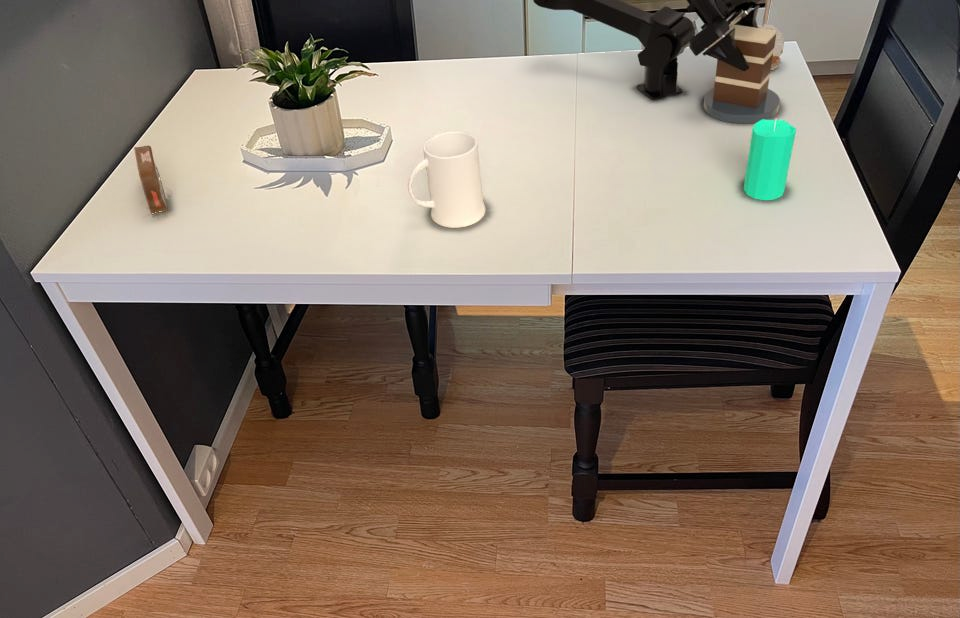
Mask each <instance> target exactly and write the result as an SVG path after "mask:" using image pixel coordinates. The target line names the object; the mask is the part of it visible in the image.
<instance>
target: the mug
mask: <svg viewBox="0 0 960 618" xmlns="http://www.w3.org/2000/svg"><path fill="white" fill-rule="evenodd" d="M478 144H479V143H478V139H477V138H476V137H475V135H472V134H470V133H468V132H465V131H446V132H440V133H437V134H434V135H432V136H431V137H429V138H428V139H426V140H425V142H424V143H423V145H422V151H423V157H424V159H423V160H421V161H420V162H419V163H417V164H416V165H415V167H414V168H413V169H412V171H411V172H410V174H409V177H408V180H407V192H408V195H409V198H410V199H411V200H412V201H413V202H414V203H415V204H416V205H417V206H420V207H423V208H429V209H430V208H431V211H430V217H431V219H432V220H433V222H434V223H436V224H437V225H439V226H441V227H445V228H450V229H452V228H453V229H456V228H457V229H459V228H464V227H468V226H472V225H474V224H476V223H478V222H479V221H481V219H483V218H484V216H485V215H486V211H487V210H486V205H485V203H484V196H483V195H484V194H483V185H482V175H481V166H480V155H479V153H480V152H479V145H478ZM422 169H425V171H426V177H427V185H428V192H429V198H430V199H429V200H420V199H417V198H416V196H415V195H414V194H413V190H412V187H413V182H414V179H415V177H416V176H417V174H418V173H419V172H420V171H422Z"/></svg>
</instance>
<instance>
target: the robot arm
mask: <svg viewBox="0 0 960 618" xmlns="http://www.w3.org/2000/svg"><path fill="white" fill-rule="evenodd" d="M532 1H533V3H534V4H535V5H536V6H538V7H540V8H543V9H547V10H552V11H573V12H576V13H577V14H580V15H582V16H584V17H587V18H590V19H592V20H594V21H596V22H599V23H601V24H604V25H606V26H608V27H610V28H613V29H616V30H617V31H620V32H622V33H625V34H627V35H629V36H631V37H633V38H636V39H637V40H638V41H639V42H640V44H641V46H643V47H644V48H643V49H642V50H641V51H640V52H638V53H637V59H638V63H639V65H640V66H641V67H644V78H643V83H640V84H636V89H637V90H639V91H640V92H642V94H644V95H646V96H647V98H649V99H651V100H653V101H656V100H659V99H664V98H667V97H671V96H674V95H675V96H676V95H679V94H682V93H683V92H684V89H683V88H681V87H680V86H678V74H679V73H678V69H679V62H678V56H680V55H681V54H683V53H684V51H685V49H686V48H688V49H689V50H690V51H691V52H692V54H693V55H694V57H698V56H699V55H700V54H701V53H702V56H704V57H705V56H707V57H710V58H711V57H712V58H713V59H716V60H717V59H718V60H721V61H723V62H725V63H727V64H729V65H731V66H733V67H735V68H738V69H740V70H742V71H746V70H748V69H749V65H748V63H747V61H746V59H745V58H744V56H743V54H742V52H741V51H740V49H739V47H738V46H737V44H736V42H735V40H734V38H735V28H734V29H732V30H731V31H730V32H729V29H730V27H729V26H730V25H731V24H733V25H740V26H747V27H754V28H758V26H757V25H758V23H757V15H758V12H759V9H760V4H758V3H759V2H760V1H761V0H686V2H687V3H688V4H689V5H688V6H687V7H685V9H686V10H687V12H688V13H689V14H690V13H691V12H693V11H694V13H695V14H696V15H697V16H698V18H699V19H700V20H701V22H702V23H703V25H701V26H700V29H701V30H700V31H699V32H698V33H696V29H695V26H694V24H693V21H692V19H690V18H688V17H687V16H685V15H686V12H679V11H677V10H674V9H673V8H671V7H670V6H667V5H664V6H663V7H661V8H660V9H658V10H657V11H656V12H649V11H646V10H644V9H641V8H639V7H637V6H634V5H631V4H629V3H626V2H624V1H622V0H532ZM757 4H758V5H757ZM753 7H754V8H753Z"/></svg>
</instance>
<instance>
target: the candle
mask: <svg viewBox="0 0 960 618" xmlns="http://www.w3.org/2000/svg"><path fill="white" fill-rule="evenodd" d="M796 132H797V128H796V127H795V126H794V125H791V124H790V123H789V122H788V121H786V120H785V119H778V118H777V117H775V119H768V120H765V119H762V120H760V121H758V122H756V123H754V124H753V127H752V131H751V137H750V144H749V151H748V156H747V164H746V170H745V177H744V182H743V183H744V184H743V191H744V193H745V194H746V195H747V196H749V197H751V198H752V199H754V200H760V201H772V200H773V201H774V200H777V199H779V198H781V197H783V195H784V193H785V190H786V184H787V179H788V173H789V169H790V164H791V159H792V154H793V147H794V143H795V138H796Z"/></svg>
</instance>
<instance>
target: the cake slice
mask: <svg viewBox="0 0 960 618" xmlns="http://www.w3.org/2000/svg"><path fill="white" fill-rule="evenodd" d="M729 27H730V29H729V32H730V31H731V30H732V29H734V28H735V38H734V40H735V42H736V44H737V46H738V47H739V49H740V51H741V52H742V54H743V56H744V58H745V59H746V61H747V63H748V65H749V69H748V70H746V71H742V70H740V69H738V68H735V67H733V66H731V65H729V64H727V63H725V62H723V61H721V60H718V59H716V60H717V61H716V70H715V77H714V78H715V79H714V87H713V88H714V95H713V100H716V101H721V102H726V103H732V104H737V105H742V106H747V107H753V108H757V107H758V106H759V105H760V104H761V103H762V101H763V100H764V99H765V98H766V97H767V90H768V89H769V83H770V76H771V71H772V70H771V65H772V58H773V52H774V46H775V39H776V33H777V31H775V30H768V29H761V28H754V27H747V26H740V25H733V24H730V25H729Z"/></svg>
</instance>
